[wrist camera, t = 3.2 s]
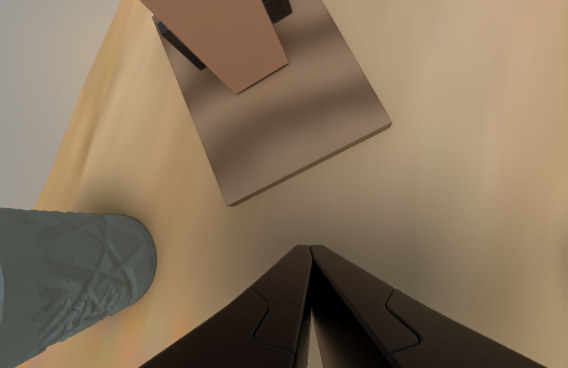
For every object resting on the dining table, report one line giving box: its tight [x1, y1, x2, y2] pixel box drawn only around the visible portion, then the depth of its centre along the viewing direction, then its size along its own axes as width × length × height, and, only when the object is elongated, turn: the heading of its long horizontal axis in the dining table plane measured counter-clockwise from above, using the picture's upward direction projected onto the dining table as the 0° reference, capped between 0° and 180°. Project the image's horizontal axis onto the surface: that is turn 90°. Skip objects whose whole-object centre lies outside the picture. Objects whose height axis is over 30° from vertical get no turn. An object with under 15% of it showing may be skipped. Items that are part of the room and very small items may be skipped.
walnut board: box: [152, 0, 392, 206], centre depth 23 cm, size 20×14×1 cm
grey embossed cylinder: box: [0, 208, 156, 368], centre depth 20 cm, size 10×10×12 cm
